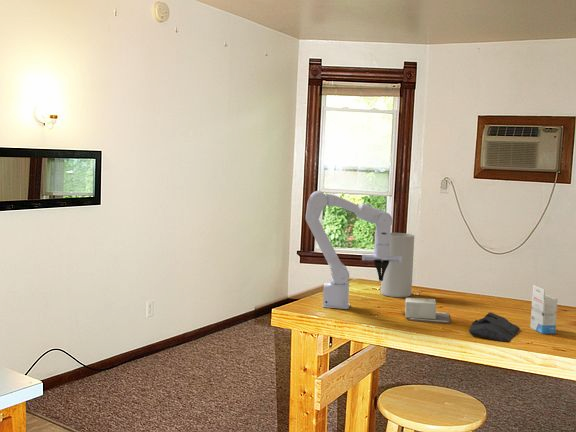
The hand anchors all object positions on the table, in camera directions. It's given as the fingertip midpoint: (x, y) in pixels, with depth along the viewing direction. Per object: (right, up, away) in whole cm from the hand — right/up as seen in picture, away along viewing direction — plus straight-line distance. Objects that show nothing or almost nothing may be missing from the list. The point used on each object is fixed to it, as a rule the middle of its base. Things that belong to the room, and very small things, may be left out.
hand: (381, 280), depth 239 cm
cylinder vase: (+10, -9, +26) cm, 29 cm away
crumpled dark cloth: (+32, -15, -28) cm, 45 cm away
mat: (+15, -12, -12) cm, 23 cm away
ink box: (+50, -15, -25) cm, 58 cm away
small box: (+7, -8, -11) cm, 16 cm away
